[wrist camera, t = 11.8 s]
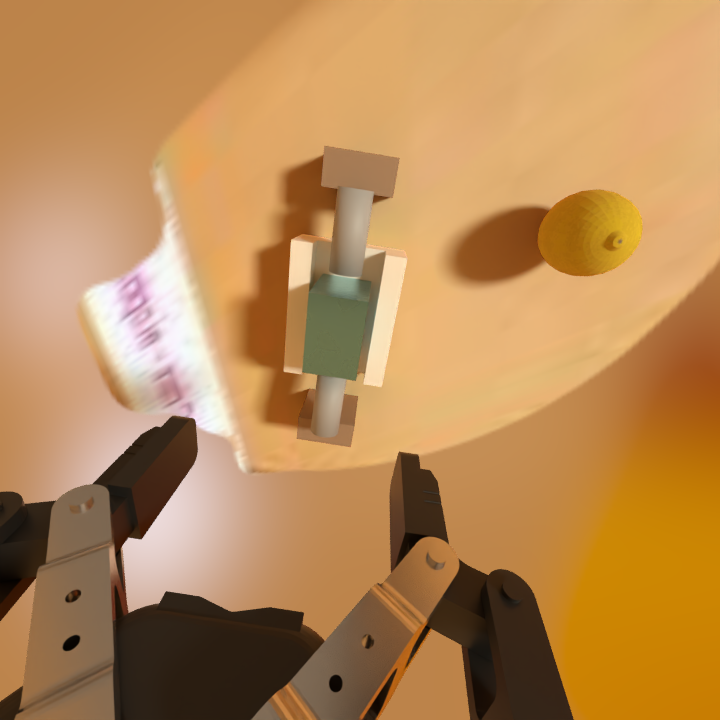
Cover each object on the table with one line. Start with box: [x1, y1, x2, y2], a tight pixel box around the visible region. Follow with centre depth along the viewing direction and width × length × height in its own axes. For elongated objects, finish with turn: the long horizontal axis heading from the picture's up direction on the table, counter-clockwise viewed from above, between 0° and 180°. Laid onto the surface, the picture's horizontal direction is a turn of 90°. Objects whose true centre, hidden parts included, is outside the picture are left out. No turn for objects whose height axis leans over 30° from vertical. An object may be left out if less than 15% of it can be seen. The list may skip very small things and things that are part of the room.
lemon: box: [538, 190, 642, 276], centre depth 24 cm, size 6×6×8 cm
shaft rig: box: [284, 146, 407, 447], centre depth 28 cm, size 23×9×7 cm, turn 172°
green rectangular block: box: [302, 274, 371, 381], centre depth 27 cm, size 6×4×6 cm, turn 172°
